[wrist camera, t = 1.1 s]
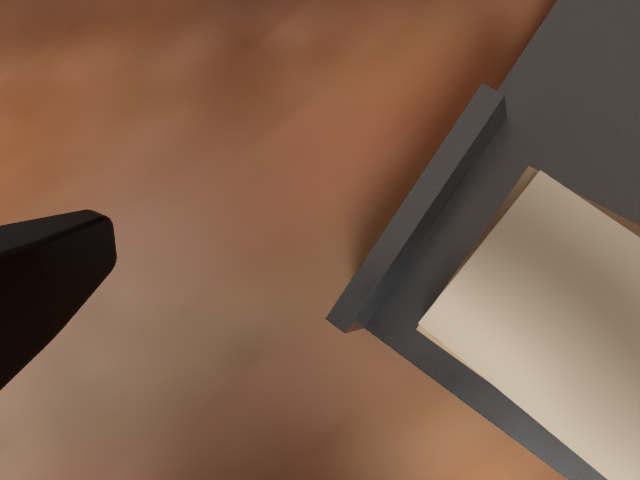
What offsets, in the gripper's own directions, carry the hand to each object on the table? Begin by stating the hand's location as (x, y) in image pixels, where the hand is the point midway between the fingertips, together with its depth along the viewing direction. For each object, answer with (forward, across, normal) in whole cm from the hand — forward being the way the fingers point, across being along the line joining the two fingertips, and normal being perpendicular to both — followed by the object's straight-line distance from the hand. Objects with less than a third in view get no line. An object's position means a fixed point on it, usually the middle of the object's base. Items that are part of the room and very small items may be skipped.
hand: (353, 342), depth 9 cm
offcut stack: (+11, -5, +7) cm, 14 cm away
